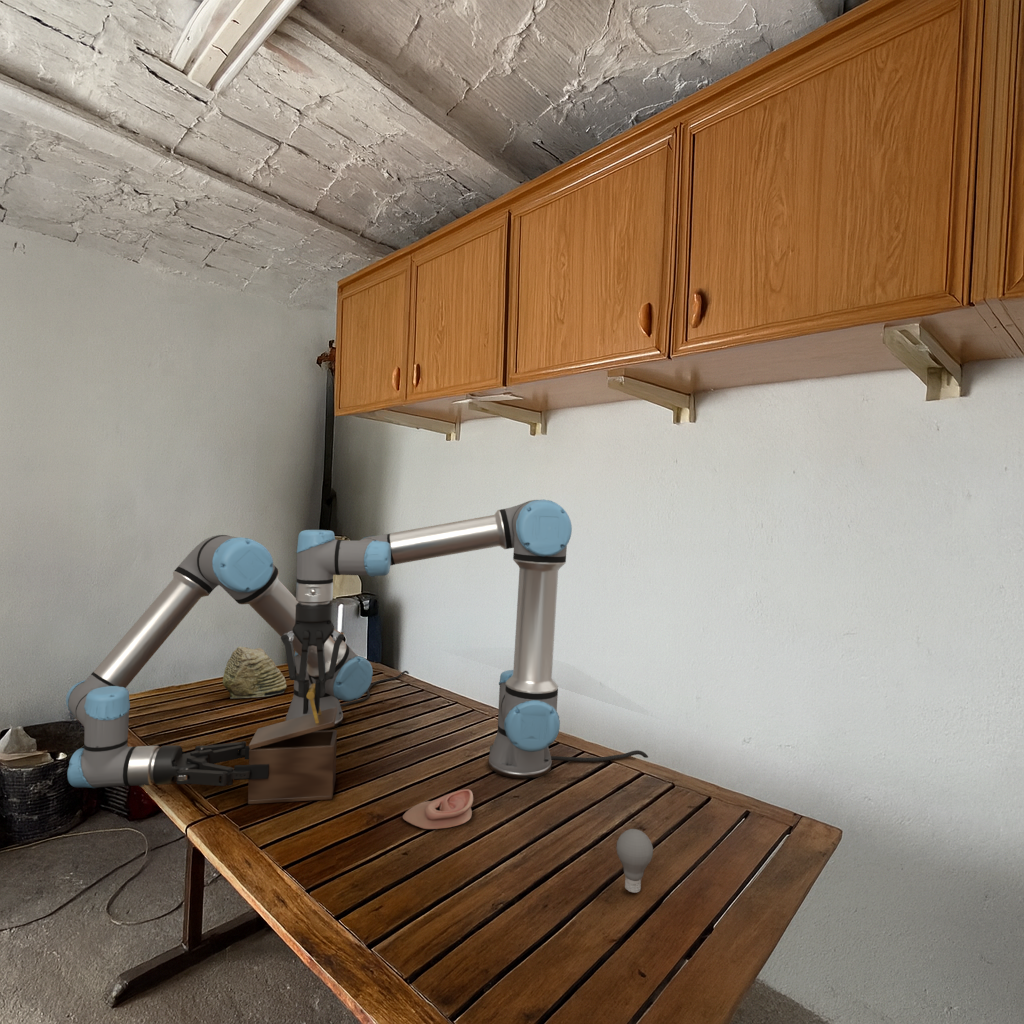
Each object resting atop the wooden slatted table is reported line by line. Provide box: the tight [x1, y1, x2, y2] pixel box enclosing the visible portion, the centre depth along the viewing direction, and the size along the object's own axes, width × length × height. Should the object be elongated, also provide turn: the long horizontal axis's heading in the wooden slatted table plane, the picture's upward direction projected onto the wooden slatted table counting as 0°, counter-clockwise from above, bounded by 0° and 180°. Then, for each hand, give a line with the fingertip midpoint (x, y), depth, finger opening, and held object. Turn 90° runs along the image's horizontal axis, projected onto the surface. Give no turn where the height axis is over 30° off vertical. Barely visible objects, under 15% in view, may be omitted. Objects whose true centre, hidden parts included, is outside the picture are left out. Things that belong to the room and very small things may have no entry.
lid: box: [248, 684, 337, 749], centre depth 135 cm, size 17×9×8 cm, turn 101°
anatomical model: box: [402, 788, 474, 830], centre depth 128 cm, size 13×4×12 cm
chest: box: [247, 729, 338, 805], centre depth 135 cm, size 17×9×11 cm, turn 102°
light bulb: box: [615, 828, 654, 894], centre depth 106 cm, size 6×6×10 cm
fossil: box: [222, 646, 288, 699], centre depth 198 cm, size 9×18×15 cm, turn 132°
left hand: (272, 761), depth 134 cm, fingers closed on chest, 9 cm apart
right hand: (311, 711), depth 136 cm, fingers closed on lid, 2 cm apart
